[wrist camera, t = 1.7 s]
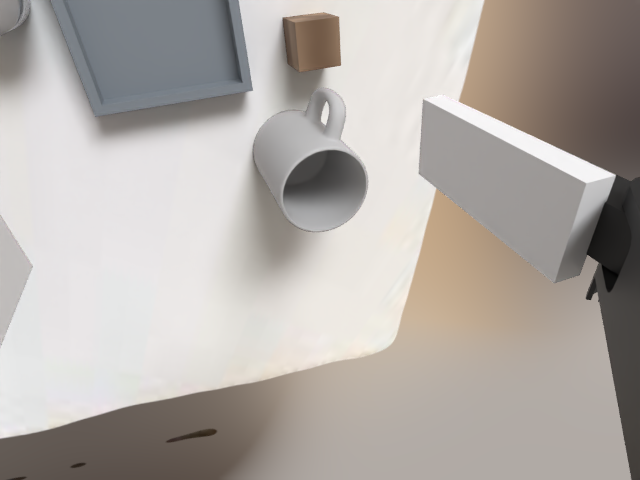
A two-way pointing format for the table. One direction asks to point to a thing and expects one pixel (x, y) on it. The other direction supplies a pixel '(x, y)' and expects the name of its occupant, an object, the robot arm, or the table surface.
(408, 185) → the table surface
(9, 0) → the chrome bearing sphere
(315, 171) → the mug
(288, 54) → the walnut block
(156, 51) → the tray
